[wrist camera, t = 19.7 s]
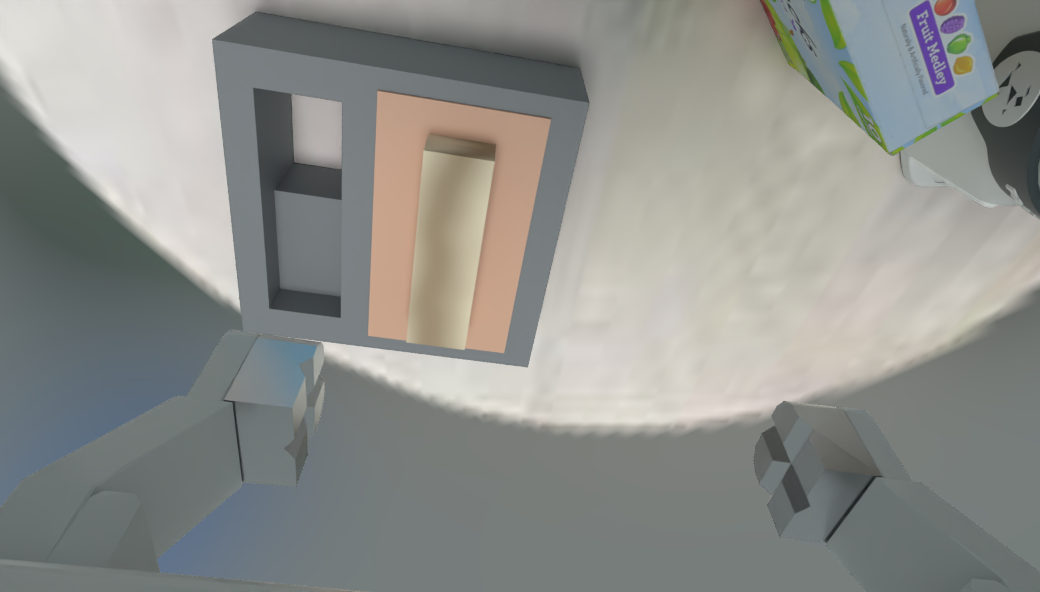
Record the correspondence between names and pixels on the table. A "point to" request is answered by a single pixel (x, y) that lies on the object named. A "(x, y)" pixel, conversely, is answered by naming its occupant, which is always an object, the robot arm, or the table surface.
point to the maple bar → (448, 239)
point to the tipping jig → (388, 180)
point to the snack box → (889, 61)
